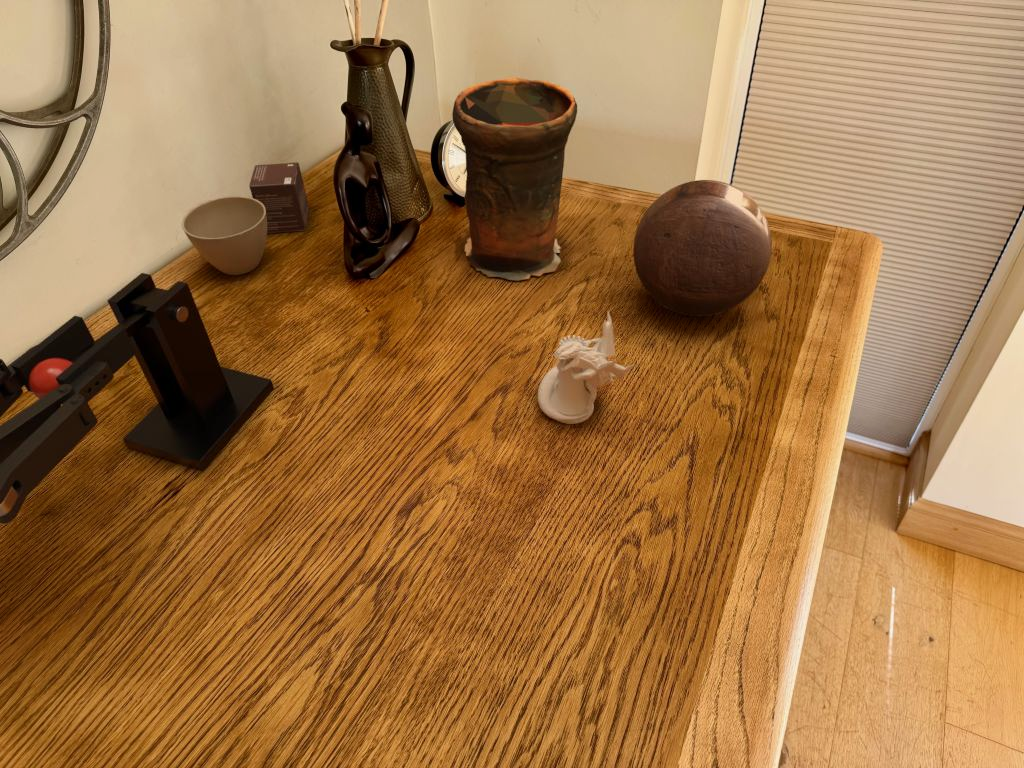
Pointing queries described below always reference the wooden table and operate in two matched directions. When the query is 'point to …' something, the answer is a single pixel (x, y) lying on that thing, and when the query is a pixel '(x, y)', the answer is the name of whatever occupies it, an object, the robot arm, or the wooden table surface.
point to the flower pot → (228, 232)
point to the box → (281, 196)
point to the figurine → (579, 376)
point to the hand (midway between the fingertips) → (105, 334)
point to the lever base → (185, 380)
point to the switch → (91, 345)
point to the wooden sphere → (702, 248)
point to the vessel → (514, 173)
